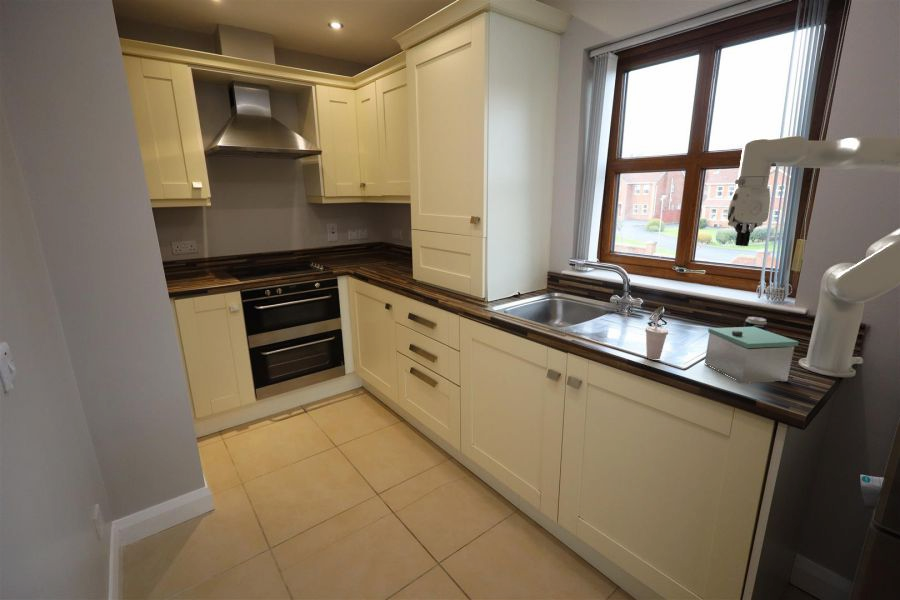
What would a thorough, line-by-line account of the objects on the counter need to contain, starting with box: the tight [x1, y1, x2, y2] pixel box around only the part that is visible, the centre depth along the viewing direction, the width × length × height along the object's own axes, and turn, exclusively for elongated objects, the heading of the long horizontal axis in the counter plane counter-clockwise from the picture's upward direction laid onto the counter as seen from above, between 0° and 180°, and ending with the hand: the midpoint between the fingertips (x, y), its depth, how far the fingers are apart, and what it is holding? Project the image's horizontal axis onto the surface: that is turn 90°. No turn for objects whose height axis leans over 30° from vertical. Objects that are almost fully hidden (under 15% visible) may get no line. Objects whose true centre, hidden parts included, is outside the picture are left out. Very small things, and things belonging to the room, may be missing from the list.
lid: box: [707, 326, 799, 348], centre depth 117 cm, size 15×14×2 cm
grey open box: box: [704, 332, 795, 384], centre depth 119 cm, size 14×14×10 cm
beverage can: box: [743, 316, 768, 331], centre depth 133 cm, size 6×6×12 cm
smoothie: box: [644, 314, 669, 359], centre depth 129 cm, size 6×6×14 cm
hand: (741, 245), depth 127 cm, fingers closed
